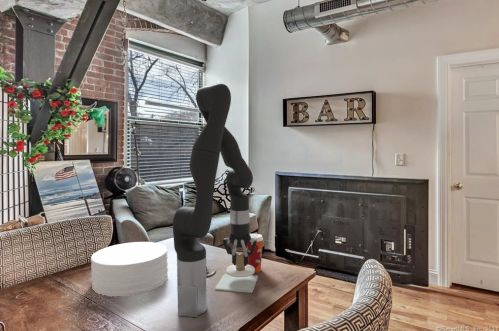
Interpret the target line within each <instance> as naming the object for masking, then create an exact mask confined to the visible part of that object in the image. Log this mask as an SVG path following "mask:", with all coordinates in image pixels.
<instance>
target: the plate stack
mask: <svg viewBox="0 0 499 331" xmlns="http://www.w3.org/2000/svg"><path fill="white" fill-rule="evenodd" d="M90 262H91V268H90V269H91V282H92V283H91V288H92V290H94V291H95V293H96V292H97V293H98V295H100V294H102V295H101V296H104V295H107V296H106V297H112V296H120V297H128V296H129V297H130V296H136V295H140V294H143V293H147V292H150V291H153V290H155V289H157V288H158V287H161V286H163V284H165V283H166V282H167V280H168V277H169V276H168V275H169V273H168V272H169V270H168V269H169V268H168V264H169V263H168V248H167V246H166V245H164V244H161V243H159V242H153V241H132V242H125V243H124V242H123V243H120V244H119V243H117V244H114V245H110V246H107V247H104V248H102V249H99V250H97V251H95V252H94V253H93V254H92V255H91V257H90ZM94 291H93V292H94ZM97 293H96V294H97Z"/></svg>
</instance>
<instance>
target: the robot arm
mask: <svg viewBox="0 0 499 331" xmlns="http://www.w3.org/2000/svg"><path fill="white" fill-rule="evenodd" d="M195 94H196V95H195V101H196V104H197V107H198V109H199V112H200V113H201V115H202V117H203V119H204V121H205V123H206V124H205V125H204V127H203V129H202V130H201V132H200V134H198V136H197V137H196V140H195V141H194V143H193V146H192V148H191V154H190V160H189V170H190V173H191V176H192V180H193V182H194V186H195V191H196V196H195V197H196V198H195V205H194V206H193V207H192V206H191V207H190V206H180V207H179V208H178V209H176V211H175V213H174V215H173V219H172V233H173V246H174V247H173V248H174V251H175V253H176V276H177V278H176V279H177V280H176V281H177V282H176V283H177V286H176V288H177V289H176V290H177V291H176V292H177V316H180V317H191V318H193V317H194V318H197V317H198V316H200V315H202V314H204V313H205V312H206V311H207V308H208V303H207V302H208V299H207V297H208V295H207V287H208V286H207V276H206V275H207V273H206V266H207V249H206V247H205V246H204V245H203V244H202V243H201V242H199V241H198V240H197V239H203V238H205V237H206V236H207V235H208V234H209V231H210V228H211V225H212V218H213V204H214V192H215V186H216V185H215V184H216V178H217V172H218V167H219V162H220V157H221V158H222V161H223V162H224V165H225V166H226V167H227V168H230V170H229V171H228V172H227V173H226V177H225V183H226V187H227V188H226V189H227V192H228V196H229V199H230V212H229V213H230V214H229V218H230V219H229V230H230V232H229V233H230V234H229V237H227V238H226V237H225V238H223V240H222V244H223V245H224V248H225V250H226V253H227V254H228V255H231V263H232V265H236V253H237V250H238V248H241V249H242V250H243V253H244V255H245V256H244V266H246V265H248V262H249V256H250V255H252V254H253V252H254V249H255V247H256V244H257V241H258V240H257V239H252V238H251V236H250V234H251V231H250V230H251V222H250V221H251V218H250V199H249V196H248V195H247V193H244V192H243V191H242V189H248V188H250V187H251V186H252V185H253V182H254V177H253V173H252V170H251V168H250V167H249V165H248V163H247V162H246V161H245V159H244V158H243V155H242V153H241V149H240V147H239V143H238V140H237V139H236V138H235V137H234V135H233V134H232V133H231V131H230V130H229V129H228V128H227V127H226V124H227V120H228V116H229V112H230V108H231V104H232V93H231V90H230V88H229V86H227V85H226V84H225V83H215V84H212V85H211V84H210V85H206V86H203V87H199V89H198V90H197V92H196V93H195ZM220 155H221V156H220ZM250 241H251V245H252V248H251V250H250V251H248V246H247V244H248V243H249V242H250ZM230 243H231V244H232V248H231V245H230Z"/></svg>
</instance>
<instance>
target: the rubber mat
mask: <svg viewBox="0 0 499 331" xmlns="http://www.w3.org/2000/svg"><path fill="white" fill-rule="evenodd" d="M258 278H259V275H254V274H253V275H251V276H248V277H232V276H229V275H228V274H227V273H224V274H223V276H222V277H221V278H220V279H219V281H218V282H217V284H216V286H215V287H214V291H225V292H237V293H249V294H250V293H251V294H252V293H253V292H254V289H255V287H256V284H257V282H258Z"/></svg>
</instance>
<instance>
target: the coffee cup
mask: <svg viewBox="0 0 499 331" xmlns="http://www.w3.org/2000/svg"><path fill="white" fill-rule="evenodd" d="M250 236H251V238H252V239H257V240H258V241H257V244H256V247H255V249H254V252H253V254H252V255H250V256H249V262H248V265H251V266H253V267H254V268H255V272H254V274H258V273H261V270H262V260H263V259H262V255H263V240H264V237H263V235H262V234H260V233H250ZM247 246H248V251H250V250H251V248H252V245H251V241H250V242H249V243H248V244H247Z"/></svg>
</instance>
